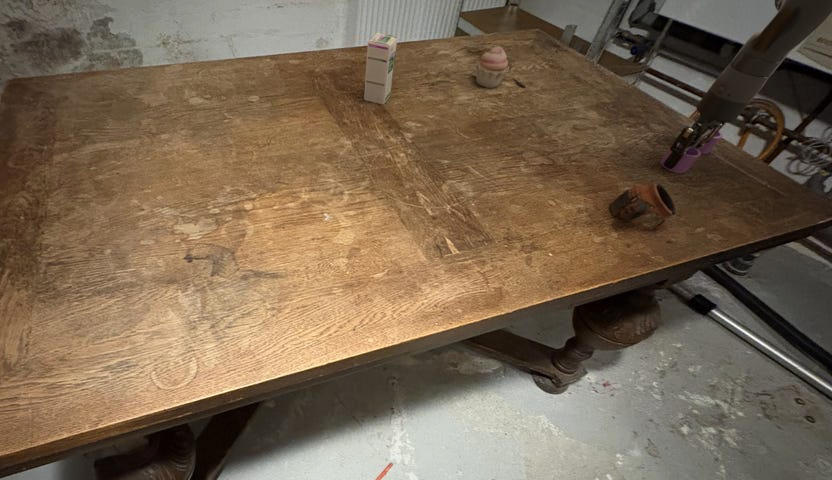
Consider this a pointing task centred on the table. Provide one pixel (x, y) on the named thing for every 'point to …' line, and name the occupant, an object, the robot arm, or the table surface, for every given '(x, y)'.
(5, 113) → the table surface
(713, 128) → the robot arm
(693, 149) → the ramekin
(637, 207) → the pottery mug
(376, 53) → the syrup box
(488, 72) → the cupcake
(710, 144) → the ramekin
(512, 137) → the table surface
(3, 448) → the table surface
